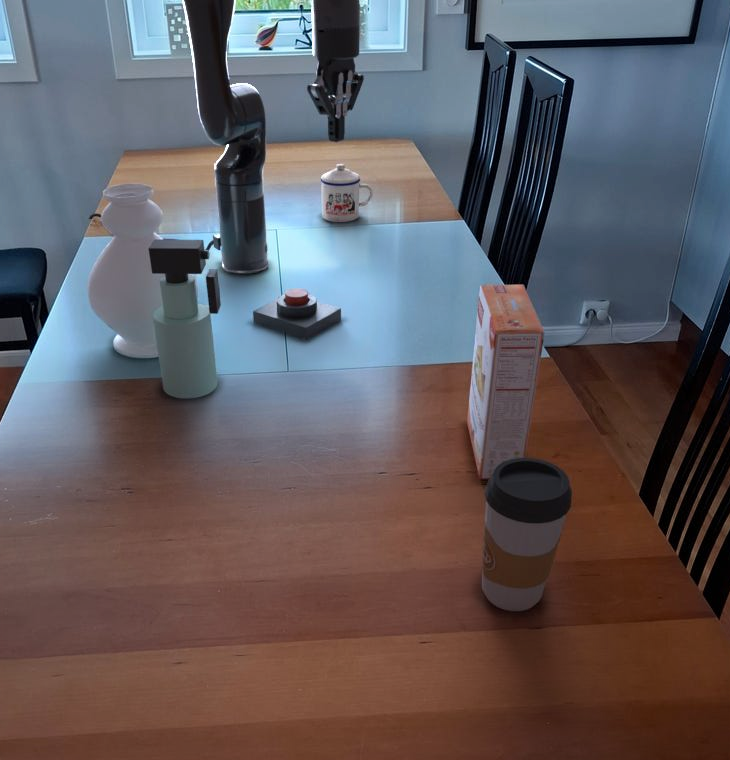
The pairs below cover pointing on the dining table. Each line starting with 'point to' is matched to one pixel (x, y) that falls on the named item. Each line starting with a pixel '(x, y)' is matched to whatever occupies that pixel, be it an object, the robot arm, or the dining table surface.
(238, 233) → the robot arm
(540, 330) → the cracker box
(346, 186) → the teacup with lid
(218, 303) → the trigger
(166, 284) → the spray bottle
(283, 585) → the dining table surface
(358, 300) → the dining table surface
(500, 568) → the coffee cup
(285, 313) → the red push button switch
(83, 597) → the dining table surface
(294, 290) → the button
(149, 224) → the decorative vase
